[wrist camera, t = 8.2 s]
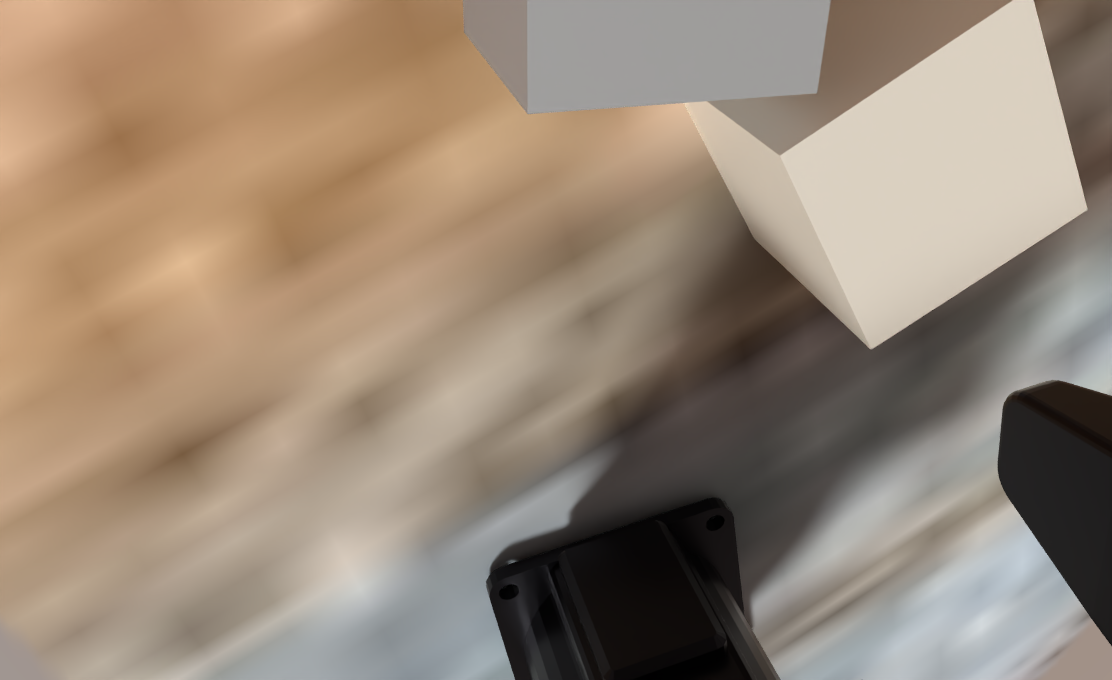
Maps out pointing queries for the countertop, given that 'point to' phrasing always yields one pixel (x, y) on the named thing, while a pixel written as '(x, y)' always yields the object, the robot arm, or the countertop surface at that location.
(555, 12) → the slate block
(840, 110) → the cream block
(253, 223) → the countertop surface
